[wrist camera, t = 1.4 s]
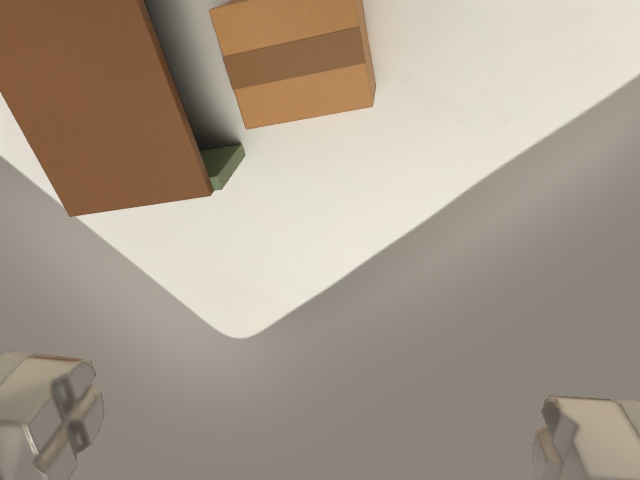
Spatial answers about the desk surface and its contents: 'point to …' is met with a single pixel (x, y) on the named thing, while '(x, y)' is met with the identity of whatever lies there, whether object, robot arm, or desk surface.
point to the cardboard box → (295, 58)
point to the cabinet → (102, 106)
